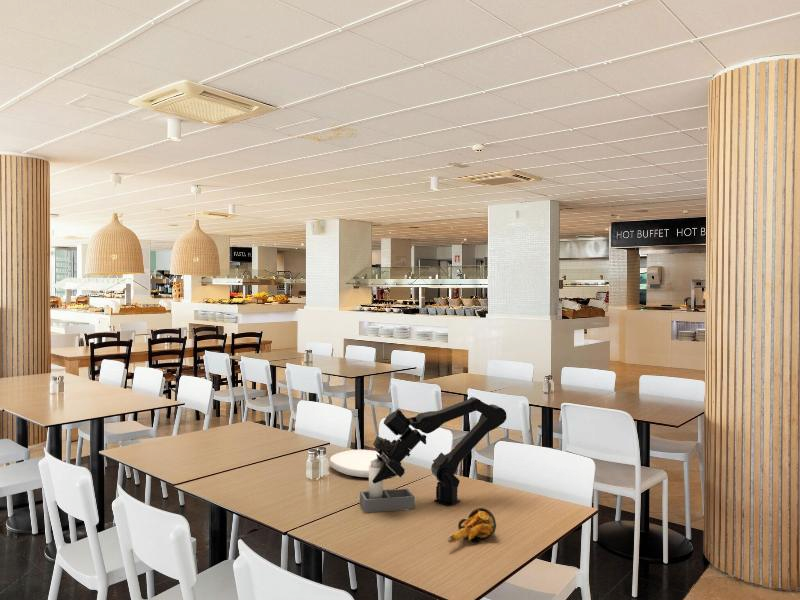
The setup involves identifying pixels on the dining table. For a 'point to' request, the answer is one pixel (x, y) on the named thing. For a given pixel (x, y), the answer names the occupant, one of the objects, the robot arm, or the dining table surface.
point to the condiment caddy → (388, 501)
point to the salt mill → (375, 488)
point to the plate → (353, 462)
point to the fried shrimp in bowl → (475, 527)
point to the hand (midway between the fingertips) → (371, 480)
